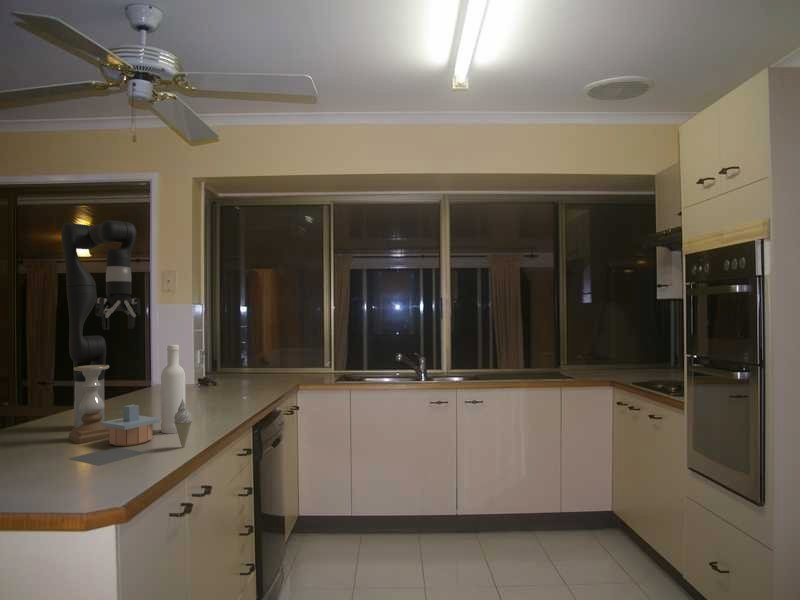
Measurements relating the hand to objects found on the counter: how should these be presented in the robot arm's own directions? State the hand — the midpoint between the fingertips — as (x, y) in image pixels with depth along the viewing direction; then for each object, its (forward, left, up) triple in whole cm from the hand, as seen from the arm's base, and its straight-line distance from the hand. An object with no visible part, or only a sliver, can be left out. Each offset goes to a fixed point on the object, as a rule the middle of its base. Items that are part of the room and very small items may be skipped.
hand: (118, 329), depth 173 cm
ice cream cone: (+32, 0, -36) cm, 48 cm away
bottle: (+9, +14, -36) cm, 40 cm away
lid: (+11, -3, -30) cm, 32 cm away
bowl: (+11, -3, -36) cm, 38 cm away
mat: (+20, -16, -36) cm, 44 cm away
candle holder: (-7, -5, -36) cm, 37 cm away
